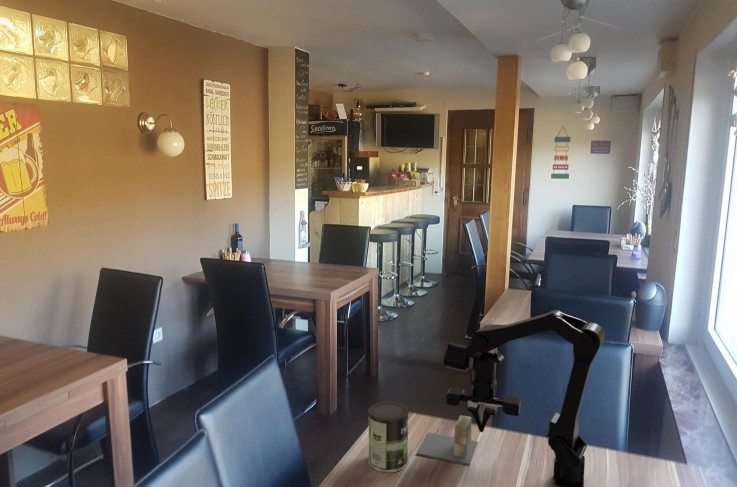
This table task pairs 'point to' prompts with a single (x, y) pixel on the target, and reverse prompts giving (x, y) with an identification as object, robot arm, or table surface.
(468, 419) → the beech board
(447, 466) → the table surface
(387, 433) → the coffee can
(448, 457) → the slate mat
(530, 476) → the table surface
